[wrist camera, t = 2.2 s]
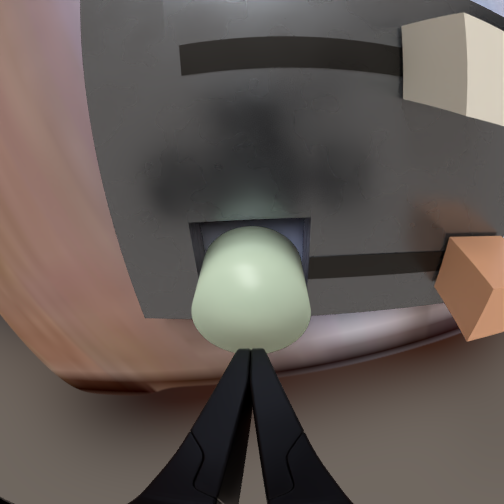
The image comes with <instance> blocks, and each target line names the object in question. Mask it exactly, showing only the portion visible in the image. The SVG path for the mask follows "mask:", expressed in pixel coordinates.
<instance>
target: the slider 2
mask: <svg viewBox="0 0 504 504" xmlns="http://www.w3.org/2000/svg"><path fill="white" fill-rule="evenodd" d="M434 287H435V289H436V290H437V292H438V293H439V295H440V296H441V298H442V300H443V301H444V303H445V305H446V306H447V308H448V309H449V311H450V313H451V314H452V316H453V318H454V320H455V321H456V323H457V325H458V326H459V328H460V330H461V332H462V334H463V335H464V337H465V339H466V341H471V340H475V339H478V338H482V337H486V336H490V335H493V334H497V333H500V332H504V238H503V237H502V236H469V237H449V241H448V244H447V248H446V251H445V255H444V258H443V261H442V264H441V267H440V271H439V274H438V277H437V280H436V282H435V285H434Z"/></svg>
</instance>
